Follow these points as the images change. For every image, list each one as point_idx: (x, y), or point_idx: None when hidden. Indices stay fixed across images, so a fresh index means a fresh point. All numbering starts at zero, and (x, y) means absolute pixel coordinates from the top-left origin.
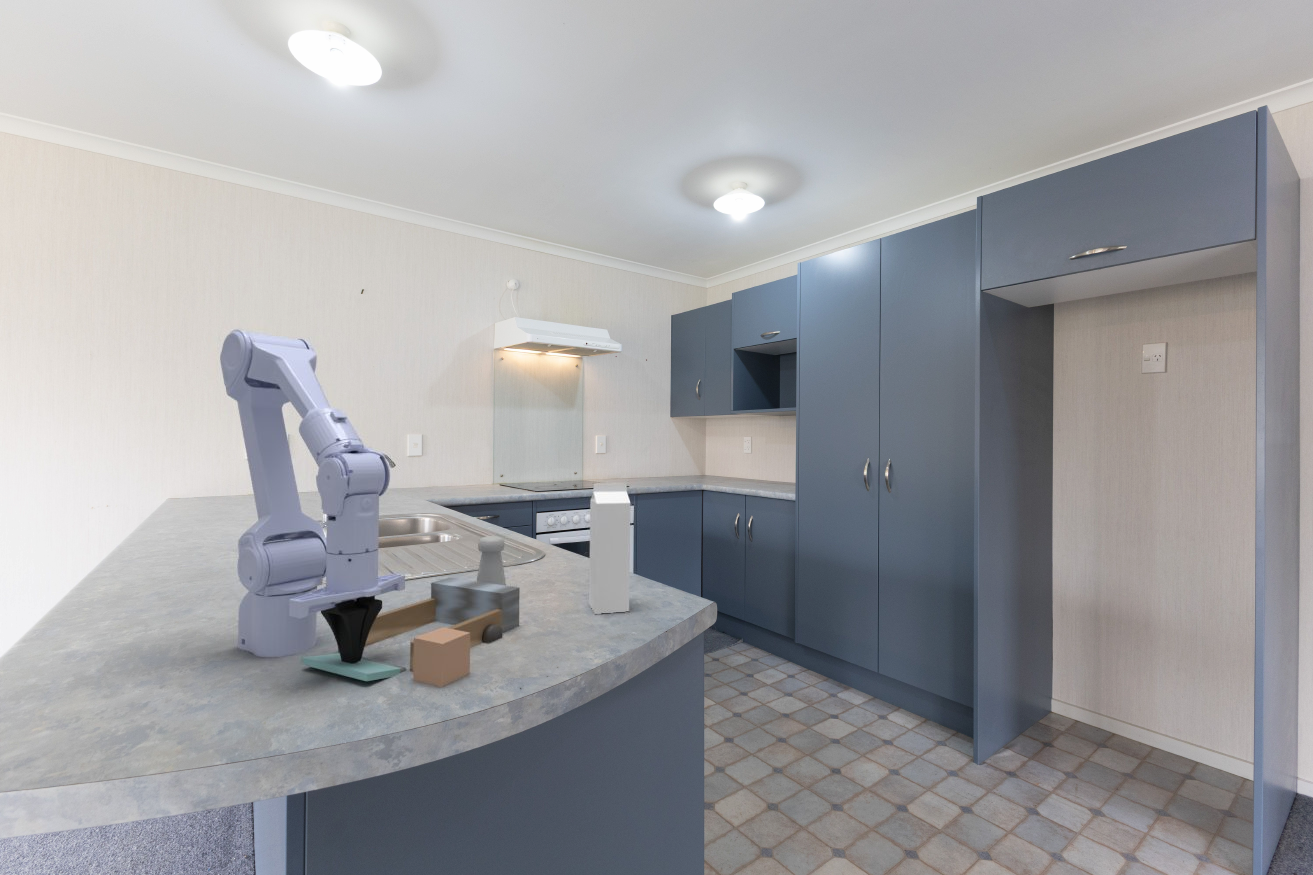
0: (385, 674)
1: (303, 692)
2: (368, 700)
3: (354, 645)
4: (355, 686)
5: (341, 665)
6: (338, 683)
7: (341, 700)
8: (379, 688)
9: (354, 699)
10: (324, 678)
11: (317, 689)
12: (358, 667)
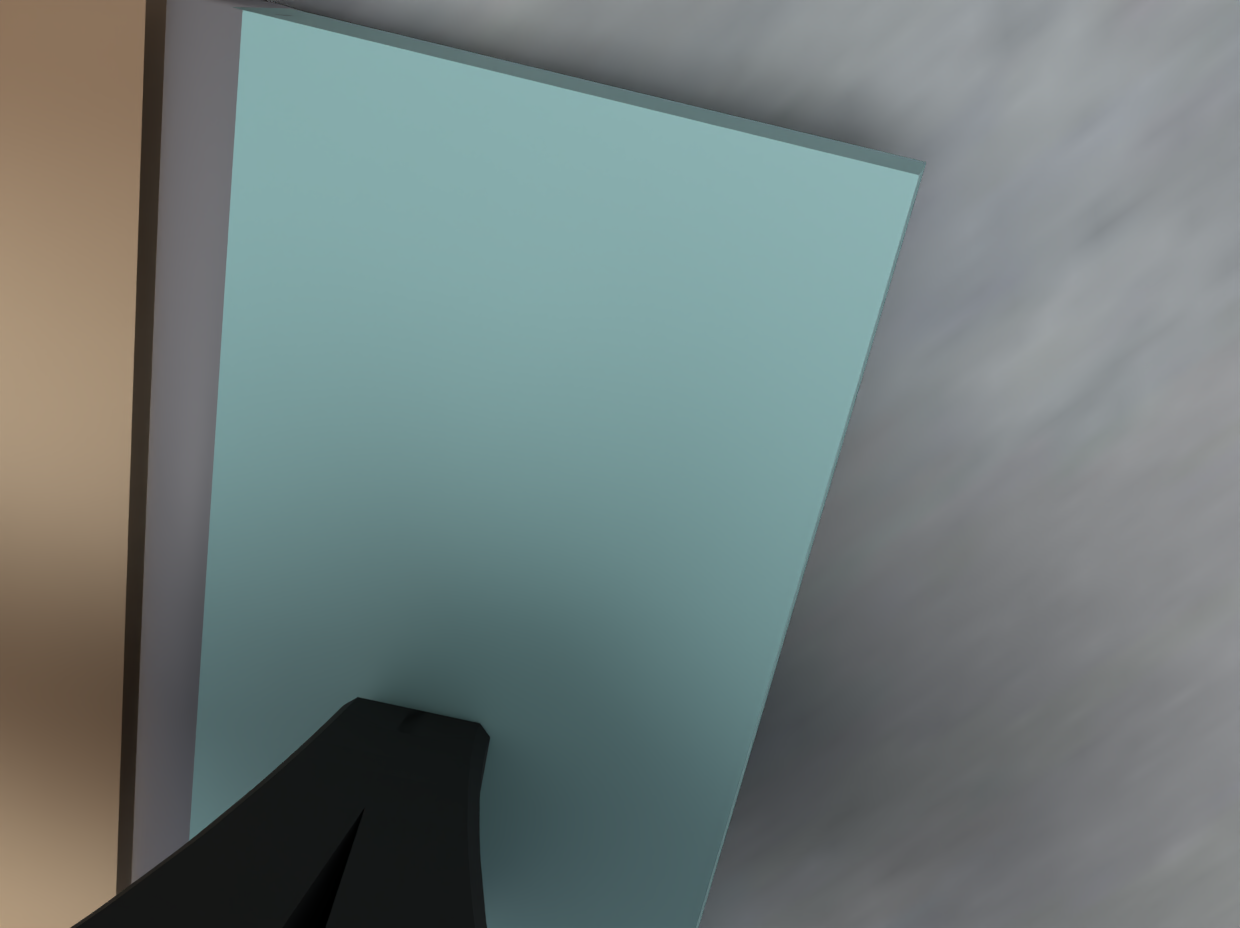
0: (560, 82)
1: (925, 863)
2: (1012, 2)
3: (454, 883)
4: None
5: (657, 786)
6: None
7: (1061, 354)
8: None
9: (1010, 216)
10: None
11: (827, 790)
12: (611, 552)
